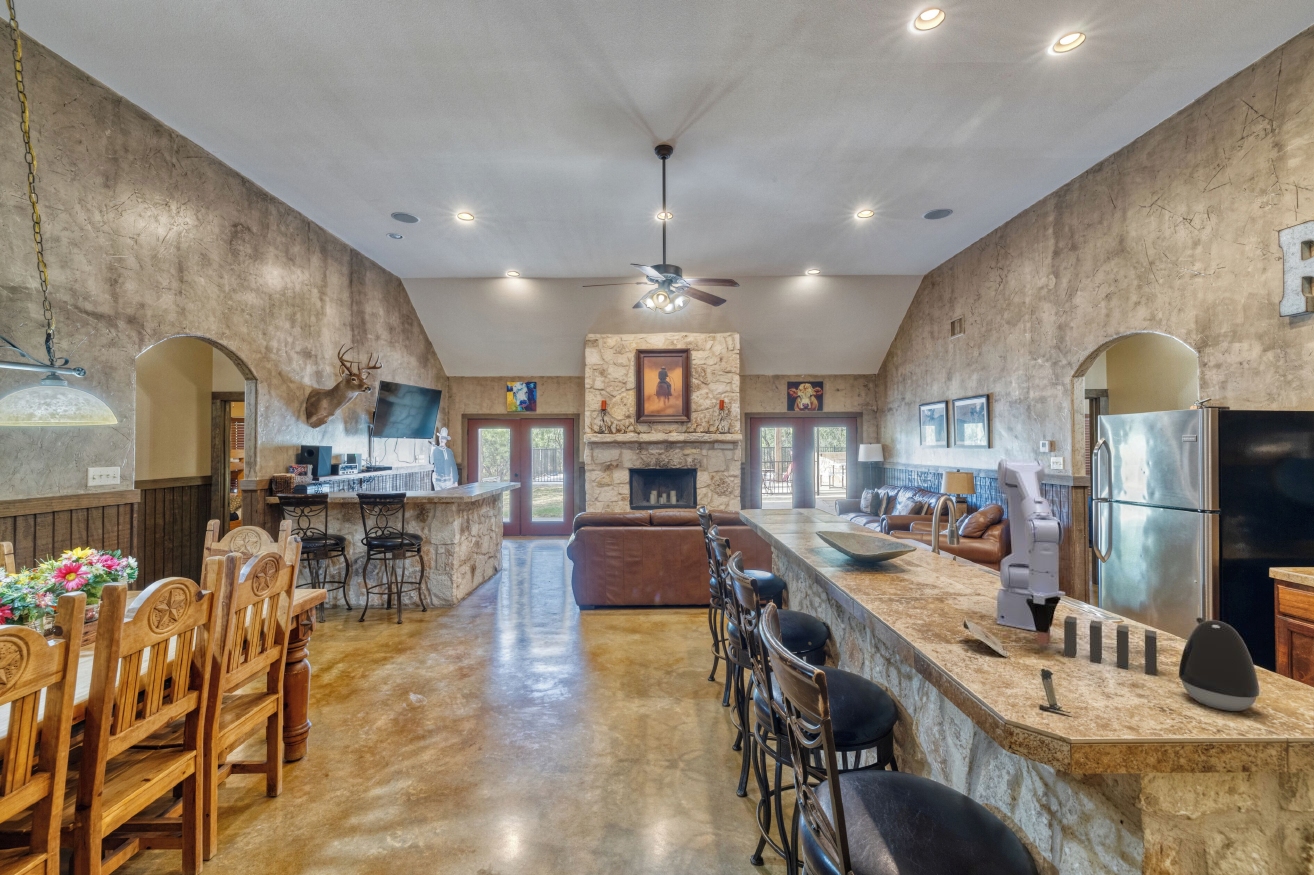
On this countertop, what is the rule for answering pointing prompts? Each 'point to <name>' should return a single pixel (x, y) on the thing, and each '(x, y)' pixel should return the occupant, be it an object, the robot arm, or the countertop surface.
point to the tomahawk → (1050, 694)
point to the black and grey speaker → (1218, 667)
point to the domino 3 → (1122, 647)
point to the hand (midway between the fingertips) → (1043, 629)
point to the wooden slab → (984, 637)
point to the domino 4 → (1150, 652)
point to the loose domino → (1044, 637)
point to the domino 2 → (1095, 641)
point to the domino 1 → (1070, 636)
